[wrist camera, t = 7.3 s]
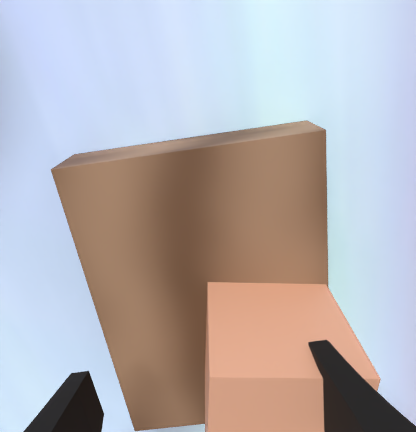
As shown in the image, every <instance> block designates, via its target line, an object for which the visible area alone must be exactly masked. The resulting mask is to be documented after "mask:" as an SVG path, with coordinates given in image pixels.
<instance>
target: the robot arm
mask: <svg viewBox="0 0 416 432" xmlns="http://www.w3.org/2000/svg"><path fill="white" fill-rule="evenodd" d="M308 345H309V348H310V350H311V353H312V355H313V358H314V360H315V363H316V365H317V368H318V370H319V372H320V374H321V376H322V378H323V401H324V431H325V432H416V426H415V425H414V424H413V423H411V422H410V421H409V420H408V419H407V418H405V417H404V416H403V415H402V414H401V413H400V412H399V411H397V410H396V409H395V408H394V407H393V406H392V405H391V404H390V403H388V402H387V401H386V400H385V399H384V398H383V397H382V396H381V395H380V394H379V393H378V392H377V391H376V390H375V389H374V388H373V387H372V386H371V385H370V384H369V383H368V382H367V381H365V380H364V379H363V378H362V377H361V376H360V375H359V373H358V372H357V371H356V370H355V369H354V368H353V367H352V366H351V365H350V364H349V363H348V362H347V361H346V360H345V359H344V358H343V356H342V355H341V354H340V353H339V352H338V351H337V350H336V349H335V347H334V346H333V345H332V344H331V343H330V342H329V341H328V340H320V341H313V342H308ZM103 417H104V413H103V410H102V407H101V404H100V401H99V399H98V396H97V393H96V390H95V387H94V384H93V382H92V379H91V376H90V373H89V371H85V372H78V373H71V374H70V376H69V377H68V378H67V379H66V380H65V382H64V383H63V384H62V385H61V387H60V388H59V389H58V390H57V391H56V393H55V394H54V395H53V396H52V398H51V399H50V400H49V401H48V403H47V404H46V405H45V406H44V408H43V409H42V410H41V411H40V413H39V414H38V415H37V416H36V417H35V419H34V420H33V421H32V422H31V423H30V425H29V426H28V427H27V428H26V429H25V431H24V432H101V430H102V424H103Z"/></svg>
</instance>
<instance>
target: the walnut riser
mask: <svg viewBox="0 0 416 432" xmlns="http://www.w3.org/2000/svg"><path fill="white" fill-rule="evenodd" d="M51 172H52V175H53V178H54V181H55V184H56V187H57V190H58V194H59V197H60V200H61V203H62V206H63V209H64V212H65V215H66V218H67V221H68V225H69V228H70V231H71V234H72V237H73V240H74V243H75V246H76V249H77V253H78V256H79V259H80V262H81V265H82V268H83V271H84V274H85V277H86V281H87V284H88V287H89V290H90V293H91V296H92V299H93V302H94V305H95V309H96V312H97V315H98V318H99V321H100V324H101V327H102V330H103V333H104V337H105V340H106V343H107V346H108V349H109V352H110V355H111V358H112V361H113V364H114V368H115V371H116V374H117V377H118V380H119V383H120V386H121V389H122V392H123V396H124V399H125V402H126V405H127V408H128V411H129V414H130V417H131V420H132V424H133V427H134V430H135V431H140V430H150V429H159V428H168V427H178V426H187V425H197V424H205V350H206V318H207V285H208V282H230V283H284V284H326V285H327V287H328V246H327V176H326V130H325V129H323V128H321V127H319V126H317V125H315V124H313V123H311V122H309V121H300V122H293V123H287V124H280V125H273V126H266V127H259V128H252V129H245V130H238V131H232V132H225V133H218V134H211V135H204V136H197V137H190V138H184V139H177V140H170V141H163V142H156V143H149V144H142V145H135V146H129V147H122V148H115V149H108V150H101V151H94V152H87V153H80V154H74V155H73V156H71V157H69V158H68V159H66V160H65V161H63V162H62V163H60V164H59V165H57V166H56V167H54V168H52V169H51Z"/></svg>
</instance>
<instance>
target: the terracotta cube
mask: <svg viewBox="0 0 416 432" xmlns="http://www.w3.org/2000/svg"><path fill="white" fill-rule="evenodd" d="M320 340H328V341H329V342H330V343H331V344H332V345H333V346H334V347H335V349H336V350H337V351H338V352H339V353H340V354H341V355H342V356H343V358H344V359H345V360H346V361H347V362H348V363H349V364H350V365H351V366H352V367H353V368H354V369H355V370H356V371H357V372H358V373H359V375H360V376H361V377H362V378H363V379H364V380H365V381H367V382H368V383H369V384H370V385H371V386H372V387H373V388H374V389H375V390H376V391H377V390H378V386H379V383H380V377H379V375H378V374H377V372H376V370H375V368H374V367H373V365H372V363H371V361H370V360H369V358H368V356H367V355H366V353H365V351H364V349H363V348H362V346H361V344H360V342H359V341H358V339H357V337H356V335H355V334H354V332H353V330H352V328H351V327H350V325H349V323H348V321H347V320H346V318H345V316H344V315H343V313H342V311H341V309H340V308H339V306H338V304H337V302H336V301H335V299H334V297H333V295H332V294H331V292H330V290H329V288H328V287H327V285H326V284H284V283H230V282H208V285H207V318H206V350H205V432H325V431H324V401H323V378H322V376H321V374H320V372H319V370H318V368H317V365H316V363H315V360H314V358H313V355H312V353H311V350H310V348H309V345H308V342H313V341H320Z"/></svg>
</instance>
